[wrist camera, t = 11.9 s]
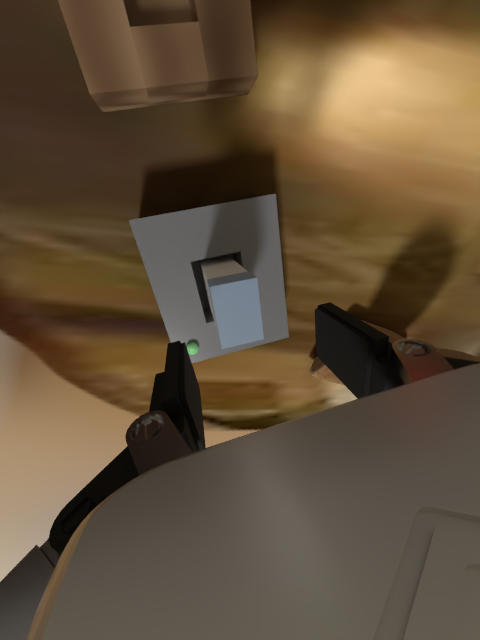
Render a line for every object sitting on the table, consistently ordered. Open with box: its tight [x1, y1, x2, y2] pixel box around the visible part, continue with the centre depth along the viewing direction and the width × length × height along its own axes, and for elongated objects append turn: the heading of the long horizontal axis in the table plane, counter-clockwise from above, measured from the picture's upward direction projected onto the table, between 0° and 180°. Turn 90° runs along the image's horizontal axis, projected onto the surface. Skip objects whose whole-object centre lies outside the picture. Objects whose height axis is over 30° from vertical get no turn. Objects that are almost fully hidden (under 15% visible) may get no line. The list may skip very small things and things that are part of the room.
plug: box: [200, 255, 264, 349], centre depth 20 cm, size 3×5×11 cm
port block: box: [129, 194, 289, 363], centre depth 24 cm, size 12×14×5 cm
